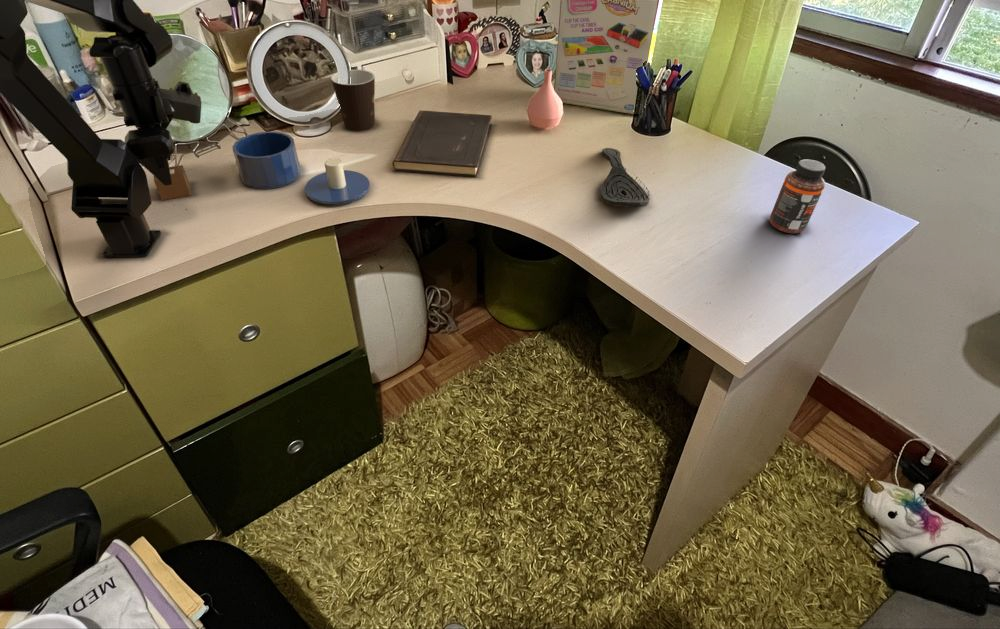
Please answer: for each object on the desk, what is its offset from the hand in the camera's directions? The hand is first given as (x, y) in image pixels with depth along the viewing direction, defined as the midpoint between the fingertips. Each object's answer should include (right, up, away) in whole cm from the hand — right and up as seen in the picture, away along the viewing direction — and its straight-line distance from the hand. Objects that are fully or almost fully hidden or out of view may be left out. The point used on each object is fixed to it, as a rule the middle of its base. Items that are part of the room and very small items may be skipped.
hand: (168, 172), depth 99 cm
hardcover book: (+46, +9, +18) cm, 50 cm away
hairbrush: (+79, 0, +9) cm, 79 cm away
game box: (+79, +24, +36) cm, 91 cm away
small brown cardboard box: (0, -3, +3) cm, 4 cm away
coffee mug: (+27, +17, +26) cm, 41 cm away
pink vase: (+66, +16, +26) cm, 73 cm away
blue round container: (+14, +1, +8) cm, 17 cm away
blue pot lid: (+28, -2, +4) cm, 28 cm away
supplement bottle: (+105, -9, 0) cm, 106 cm away
